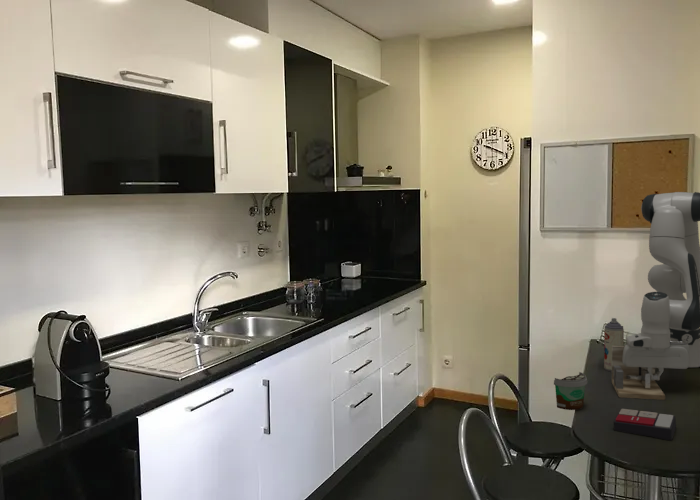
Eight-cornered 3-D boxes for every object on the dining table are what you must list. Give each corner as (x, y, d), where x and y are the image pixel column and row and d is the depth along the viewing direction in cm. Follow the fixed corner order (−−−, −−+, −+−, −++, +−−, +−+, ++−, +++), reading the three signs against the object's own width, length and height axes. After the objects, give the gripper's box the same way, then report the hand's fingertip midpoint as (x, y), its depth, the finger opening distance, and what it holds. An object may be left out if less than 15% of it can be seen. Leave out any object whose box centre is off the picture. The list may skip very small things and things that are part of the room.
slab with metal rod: (624, 379, 210) (624, 365, 210) (644, 380, 209) (645, 366, 208) (628, 387, 202) (628, 373, 202) (650, 388, 201) (650, 374, 200)
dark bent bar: (637, 379, 210) (637, 351, 209) (642, 379, 210) (642, 352, 209) (639, 382, 207) (639, 354, 206) (644, 382, 207) (644, 354, 206)
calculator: (620, 407, 182) (675, 413, 173) (620, 420, 182) (676, 427, 173) (613, 419, 173) (671, 426, 164) (613, 433, 173) (671, 441, 164)
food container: (568, 414, 186) (568, 383, 185) (553, 408, 191) (553, 378, 190) (595, 406, 192) (596, 376, 191) (580, 400, 197) (580, 371, 196)
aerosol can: (602, 366, 233) (603, 316, 231) (621, 367, 231) (621, 316, 229) (605, 371, 226) (606, 320, 224) (625, 372, 225) (625, 320, 223)
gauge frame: (611, 382, 214) (611, 345, 213) (654, 384, 210) (654, 347, 209) (618, 397, 199) (619, 358, 198) (665, 399, 195) (665, 359, 194)
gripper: (686, 338, 202) (685, 378, 203) (621, 337, 207) (621, 375, 208) (692, 343, 196) (691, 384, 197) (624, 341, 201) (624, 381, 202)
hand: (654, 379), depth 203 cm, fingers closed
